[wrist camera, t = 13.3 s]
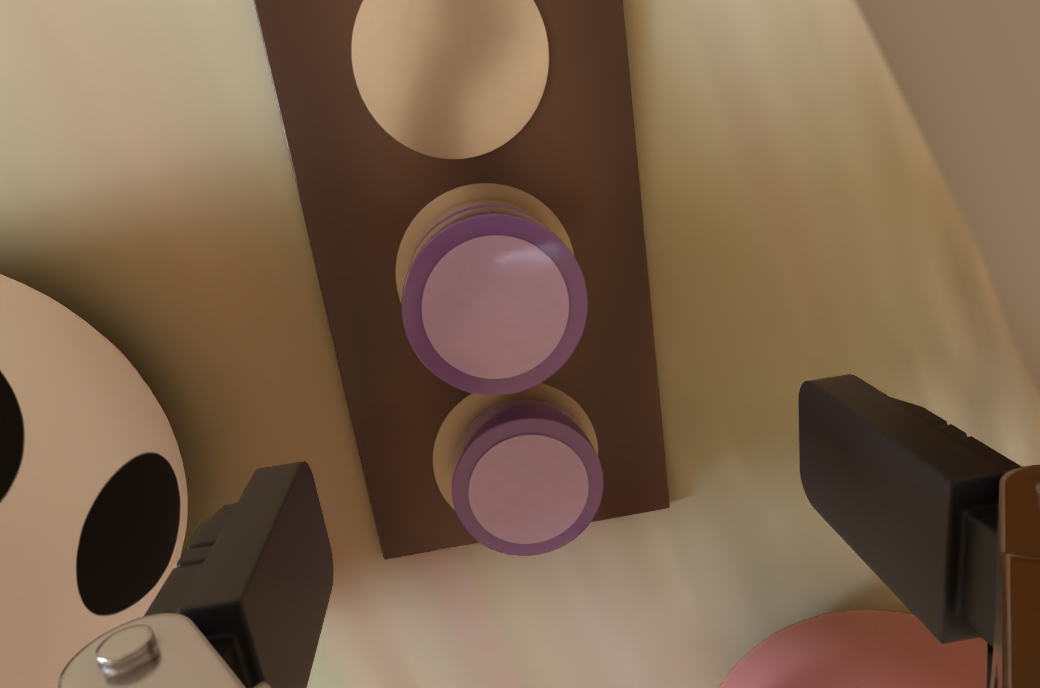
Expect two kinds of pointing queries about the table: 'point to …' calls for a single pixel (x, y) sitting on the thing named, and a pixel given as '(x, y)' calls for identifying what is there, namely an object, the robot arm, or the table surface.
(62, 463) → the white black spotted canister
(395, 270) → the brown board with circles
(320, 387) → the table surface
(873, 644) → the pink piggy bank
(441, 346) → the purple stepped cylinder
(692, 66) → the table surface
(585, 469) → the dish top
